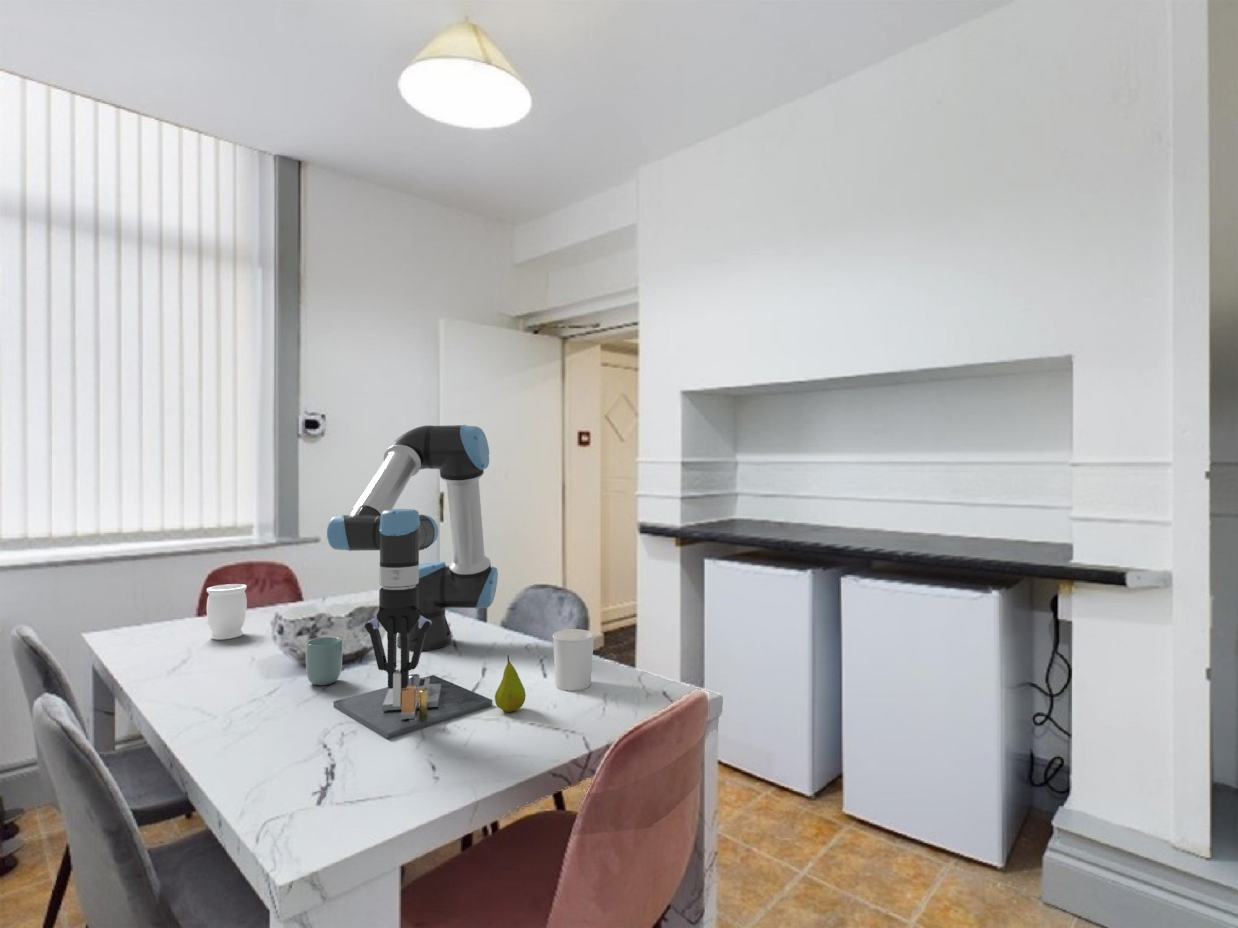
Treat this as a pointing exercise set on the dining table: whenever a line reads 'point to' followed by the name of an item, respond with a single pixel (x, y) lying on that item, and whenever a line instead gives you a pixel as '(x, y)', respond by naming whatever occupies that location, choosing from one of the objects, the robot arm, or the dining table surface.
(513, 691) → the fruit
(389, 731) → the base
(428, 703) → the grey metal fixture
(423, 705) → the dowel
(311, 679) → the cup
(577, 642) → the white tumbler
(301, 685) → the dining table surface
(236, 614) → the jar
